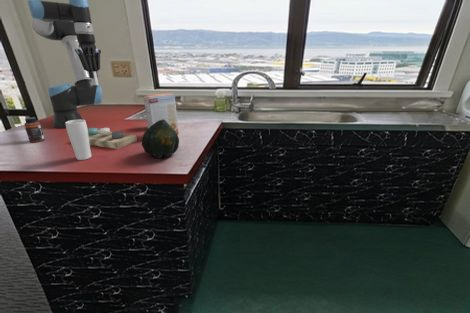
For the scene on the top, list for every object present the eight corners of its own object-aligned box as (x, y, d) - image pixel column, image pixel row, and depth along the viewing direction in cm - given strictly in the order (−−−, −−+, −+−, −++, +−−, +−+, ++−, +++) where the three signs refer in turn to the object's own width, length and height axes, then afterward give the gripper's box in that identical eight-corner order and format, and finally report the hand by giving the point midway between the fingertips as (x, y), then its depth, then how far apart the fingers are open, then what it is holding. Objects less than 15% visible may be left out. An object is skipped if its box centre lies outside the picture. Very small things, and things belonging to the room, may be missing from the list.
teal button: (84, 134, 119) (83, 130, 118) (92, 131, 123) (92, 127, 122) (91, 135, 117) (90, 131, 116) (100, 132, 121) (99, 128, 120)
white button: (96, 134, 116) (95, 130, 115) (104, 131, 120) (104, 127, 119) (104, 135, 114) (103, 131, 113) (112, 132, 118) (112, 128, 117)
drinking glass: (79, 155, 102) (70, 119, 97) (96, 154, 103) (88, 119, 97) (71, 161, 96) (60, 123, 90) (89, 161, 96) (80, 123, 91)
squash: (136, 151, 91) (160, 118, 91) (134, 140, 104) (155, 112, 104) (168, 169, 98) (190, 139, 98) (162, 158, 111) (182, 131, 111)
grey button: (109, 137, 113) (108, 133, 112) (117, 134, 118) (117, 130, 117) (118, 138, 112) (117, 134, 111) (126, 135, 116) (125, 131, 115)
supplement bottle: (48, 139, 121) (41, 117, 117) (35, 143, 116) (27, 119, 112) (39, 138, 123) (32, 116, 119) (26, 142, 118) (18, 118, 114)
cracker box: (172, 132, 134) (169, 92, 126) (179, 134, 130) (175, 93, 122) (148, 137, 125) (142, 95, 117) (154, 140, 121) (148, 96, 113)
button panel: (75, 142, 118) (73, 135, 116) (96, 135, 128) (95, 129, 127) (117, 149, 109) (116, 142, 108) (136, 141, 119) (135, 134, 118)
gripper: (78, 32, 111) (89, 86, 120) (102, 34, 122) (111, 84, 131) (66, 32, 114) (78, 85, 122) (91, 35, 125) (100, 83, 134)
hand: (95, 84), depth 127 cm, fingers closed
